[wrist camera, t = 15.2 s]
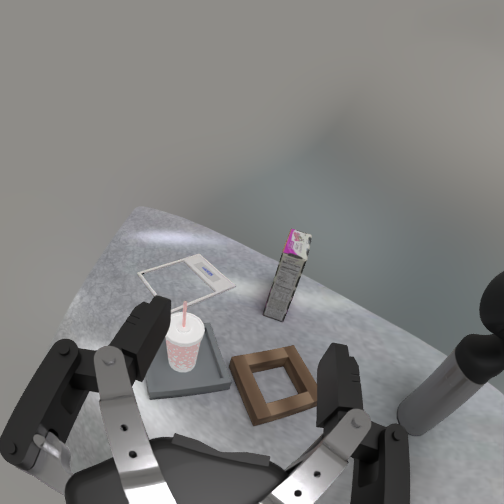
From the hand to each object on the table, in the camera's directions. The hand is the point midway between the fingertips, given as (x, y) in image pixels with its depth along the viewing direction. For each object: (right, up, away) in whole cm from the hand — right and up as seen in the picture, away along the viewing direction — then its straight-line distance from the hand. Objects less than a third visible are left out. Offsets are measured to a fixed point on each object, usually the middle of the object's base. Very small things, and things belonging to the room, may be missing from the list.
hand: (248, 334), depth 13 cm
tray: (-12, -15, +30) cm, 35 cm away
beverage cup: (-11, -14, +29) cm, 35 cm away
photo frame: (-15, -3, +49) cm, 51 cm away
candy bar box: (+6, -8, +49) cm, 50 cm away
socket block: (+4, -19, +29) cm, 35 cm away
